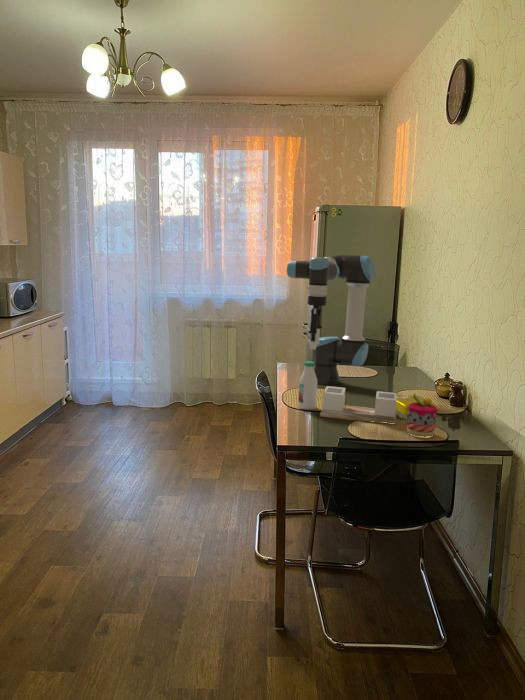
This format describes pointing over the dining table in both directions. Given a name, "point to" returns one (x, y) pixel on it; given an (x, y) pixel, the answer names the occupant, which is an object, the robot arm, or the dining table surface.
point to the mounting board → (357, 414)
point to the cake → (421, 417)
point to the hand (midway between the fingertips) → (314, 346)
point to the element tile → (406, 403)
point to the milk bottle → (308, 387)
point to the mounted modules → (336, 400)
